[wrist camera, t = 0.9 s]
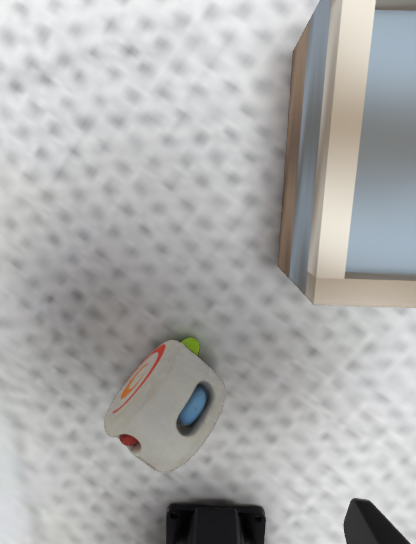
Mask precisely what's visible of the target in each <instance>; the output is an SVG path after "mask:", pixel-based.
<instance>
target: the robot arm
mask: <svg viewBox="0 0 416 544" xmlns="http://www.w3.org/2000/svg"><path fill="white" fill-rule="evenodd" d="M174 513H176V514H174ZM256 516H259V517H256ZM265 523H266V518H265V512H264V510H263V509H261V508H257V507H231V506H206V505H181V504H173V505H170V506H169V507H168V510H167V520H166V544H264V536H265ZM344 533H345V538H346V542H347V544H410V543H409V542H408V540H407V539H406V538H405V537H404V536H403V535H402V534H401V533H400V532H399V531H398V530H397V529H396V528H395V527H394V526H393V525H392V523H391V522H390V521H389V520H388V519H387V518H386V517H385V516H384V515H383V514H382V513H381V512H380V511H379V510H378V509H377V508H376V506H375V505H374V504H373V503H372V502H370V501H369V500H367V499H359V498H353V499H352V500H351V502H350V505H349V507H348V510H347V513H346V516H345V519H344Z"/></svg>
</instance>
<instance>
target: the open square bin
mask: <svg viewBox="0 0 416 544" xmlns="http://www.w3.org/2000/svg"><path fill="white" fill-rule="evenodd" d="M278 267H279V268H280V269H281V270H282V271H283V272H284V273H285V274H286V276H287V277H288V278H289V279H290V280H291V281H292V282H293V283H294V284H295V285H296V286H297V287H298V288H299V290H300V291H301V292H302V293H303V294H304V295H305V296H306V297H307V298H308V299H309V300H310V301H311V302H312V304H313V305H339V306H371V307H402V308H416V0H320V2H319V3H318V5H317V7H316V9H315V11H314V13H313V15H312V17H311V19H310V20H309V22H308V24H307V26H306V28H305V30H304V32H303V34H302V36H301V37H300V39H299V41H298V43H297V45H296V47H295V49H294V51H293V62H292V76H291V90H290V104H289V118H288V132H287V146H286V161H285V175H284V189H283V203H282V217H281V231H280V245H279V260H278Z"/></svg>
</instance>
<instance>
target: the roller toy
mask: <svg viewBox="0 0 416 544" xmlns="http://www.w3.org/2000/svg"><path fill="white" fill-rule="evenodd" d="M199 348H200V346H199V342H198V341H197V339H195V338H192V337H189V338H186V339H184V340H183V341H181V342H179V341H176V340H169V341H166V342H164V343H162V344H161V345H160V346H158V347H157V348H156V349H155V350H154V351H152V352H151V353H150V354H149V355H148V356H147V357H146V358H145V359H144V361H143V362H142V363H141V364H140V365H139V366H138V367H137V369H136V370H135V371H134V372H133V373H132V375H131V376H130V377H129V379H128V380H127V381H126V382H125V384H124V385H123V387H122V388H121V390H120V391H119V392H118V394H117V395H116V397H115V399H114V400H113V402H112V404H111V406H110V407H109V409H108V411H107V414H106V417H105V422H104V427H105V431H106V432H107V434H108V435H109V436H111V437H117V438H119V439H120V441H121V443H122V444H124V445H126V446H127V447H128V449H129V450H130V451H131V453H132V454H133V455H135V456H136V457H137V458H139V459H140V460H142V461H143V462H145V463H146V464H147V465H149V466H150V467H151V468H153V469H154V470H156V471H158V472H170V471H172V470H175V469H177V468H178V467H180V466H181V465H183V464H184V463H185V462H187V461H188V460H189V459H190V458H191V457H192V456H193V455H194V454H195V453H196V452H197V450H198V449H199V448H200V447H201V446H202V444H203V443H204V441H205V440H206V439H207V437H208V436H209V434H210V432H211V431H212V429H213V427H214V425H215V423H216V421H217V419H218V417H219V415H220V412H221V409H222V406H223V402H224V397H225V386H224V383H223V380H222V379H221V377H220V376H219V375H218V374H217V373H216V372H215V371H213V370H212V369H211V368H210V367H209V366H208V365H207V364H206V363H204V362H203V361H202V360H201V359H200V358H199V357H198V353H199Z"/></svg>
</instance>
